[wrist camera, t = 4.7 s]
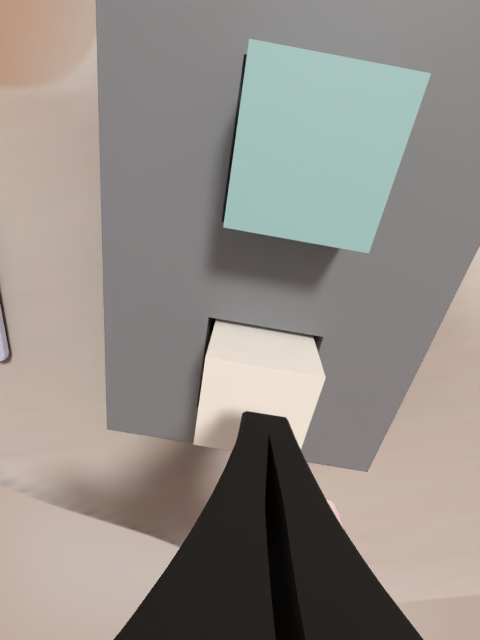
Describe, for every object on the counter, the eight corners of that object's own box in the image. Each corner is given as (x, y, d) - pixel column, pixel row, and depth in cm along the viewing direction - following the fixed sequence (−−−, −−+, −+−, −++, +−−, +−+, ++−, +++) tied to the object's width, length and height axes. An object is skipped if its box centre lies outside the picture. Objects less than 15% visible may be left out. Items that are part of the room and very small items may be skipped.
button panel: (121, 403, 19) (107, 429, 17) (122, -678, 6) (68, -1003, 5) (357, 442, 19) (367, 471, 17) (789, -520, 7) (981, -768, 5)
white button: (205, 395, 16) (193, 444, 13) (216, 318, 14) (205, 357, 12) (290, 409, 16) (296, 461, 14) (312, 335, 14) (325, 377, 12)
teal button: (231, 212, 12) (223, 227, 10) (252, 72, 10) (249, 38, 8) (343, 232, 12) (368, 253, 10) (384, 98, 11) (431, 73, 8)
